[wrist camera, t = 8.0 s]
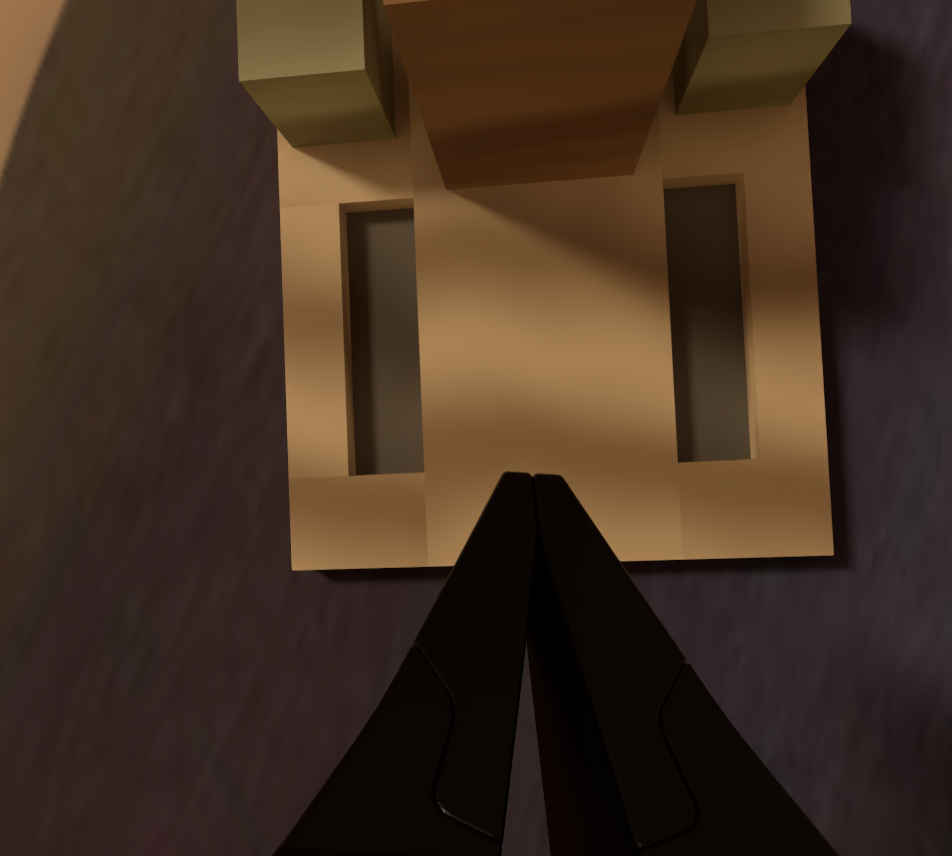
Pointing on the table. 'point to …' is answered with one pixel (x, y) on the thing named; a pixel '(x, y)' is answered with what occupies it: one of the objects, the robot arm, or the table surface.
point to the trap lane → (549, 303)
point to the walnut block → (537, 83)
